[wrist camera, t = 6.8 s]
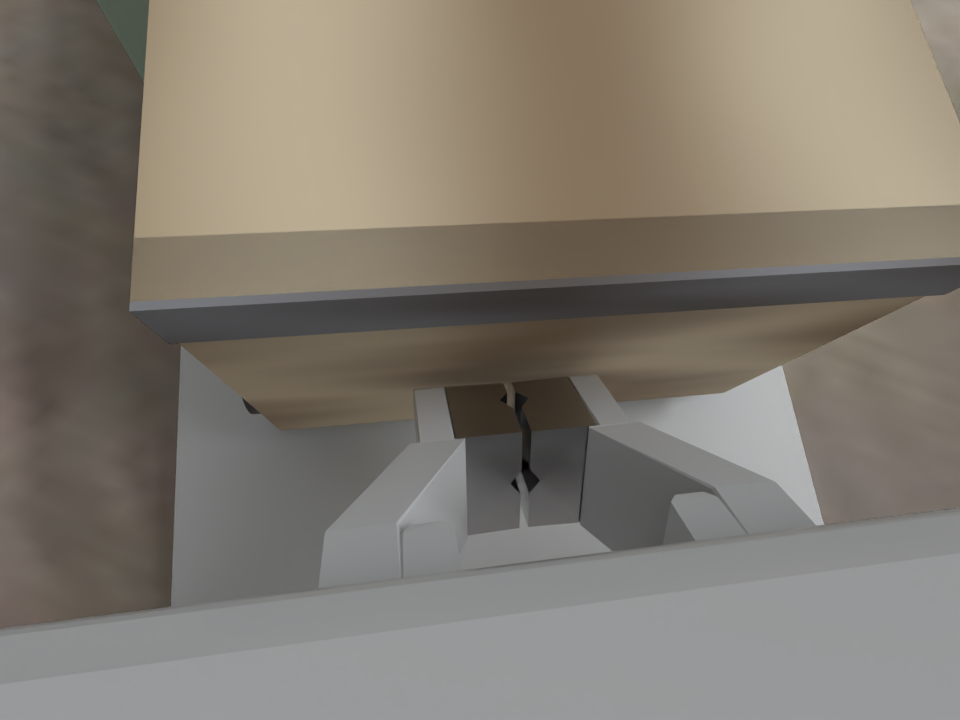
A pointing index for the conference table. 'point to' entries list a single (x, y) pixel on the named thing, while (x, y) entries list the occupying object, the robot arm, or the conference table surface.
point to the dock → (387, 463)
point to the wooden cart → (532, 192)
